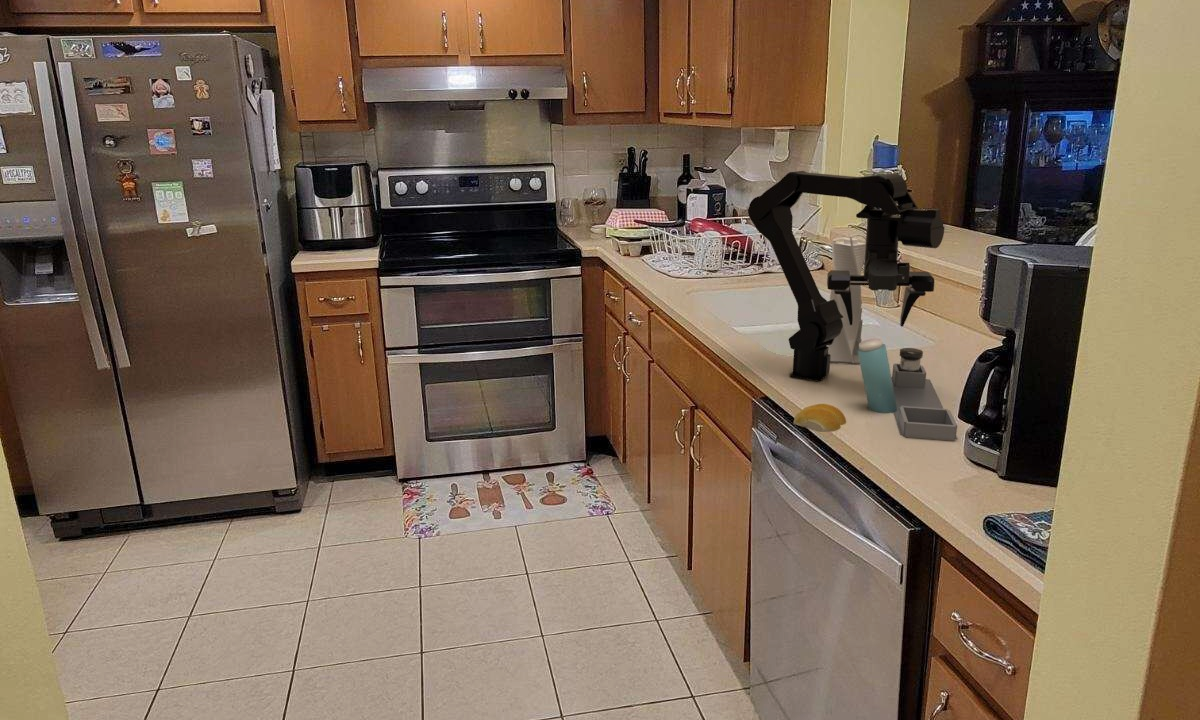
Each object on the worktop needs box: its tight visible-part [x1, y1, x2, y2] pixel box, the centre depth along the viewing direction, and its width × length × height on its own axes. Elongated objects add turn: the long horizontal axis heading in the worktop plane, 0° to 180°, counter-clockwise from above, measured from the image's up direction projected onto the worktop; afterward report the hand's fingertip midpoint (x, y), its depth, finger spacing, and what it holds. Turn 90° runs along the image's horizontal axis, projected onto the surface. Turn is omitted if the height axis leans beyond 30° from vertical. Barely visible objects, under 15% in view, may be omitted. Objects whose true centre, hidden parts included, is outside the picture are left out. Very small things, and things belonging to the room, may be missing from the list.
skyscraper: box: [827, 233, 866, 365], centre depth 177 cm, size 8×8×28 cm
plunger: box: [899, 347, 924, 372], centre depth 162 cm, size 4×4×6 cm
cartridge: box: [858, 338, 897, 414], centre depth 149 cm, size 5×5×13 cm
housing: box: [891, 362, 958, 442], centre depth 151 cm, size 32×9×4 cm, turn 167°
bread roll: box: [793, 403, 847, 433], centre depth 144 cm, size 8×9×4 cm
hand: (876, 325), depth 158 cm, fingers open, 9 cm apart
